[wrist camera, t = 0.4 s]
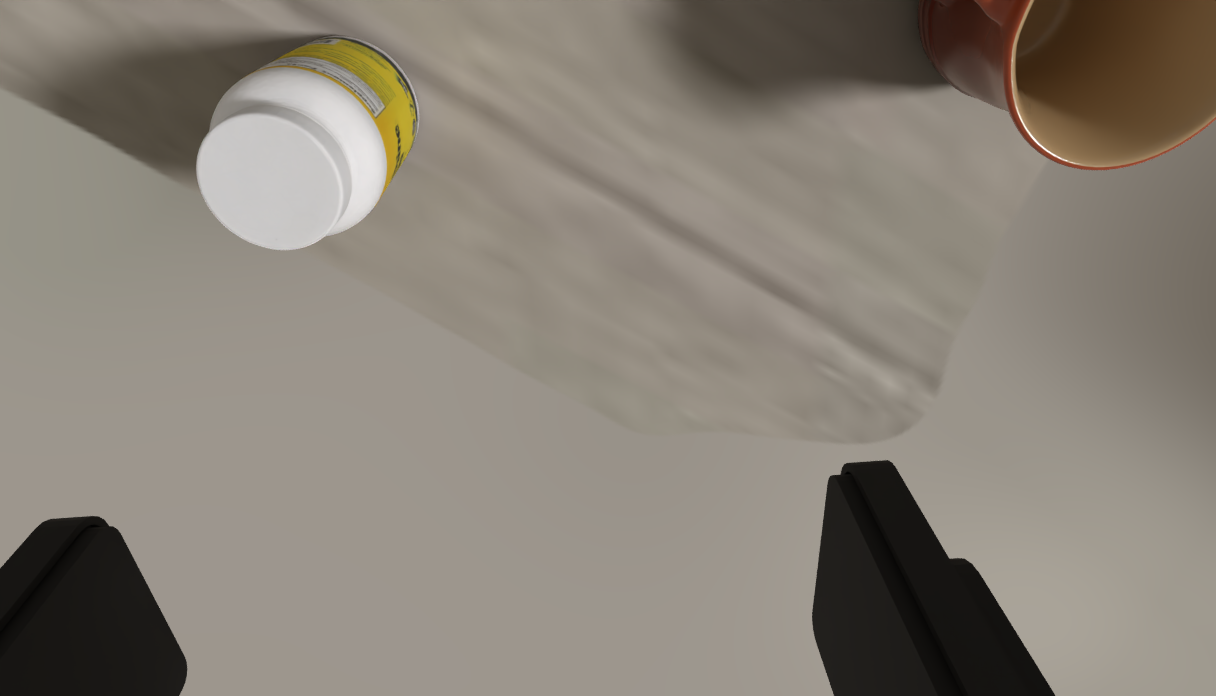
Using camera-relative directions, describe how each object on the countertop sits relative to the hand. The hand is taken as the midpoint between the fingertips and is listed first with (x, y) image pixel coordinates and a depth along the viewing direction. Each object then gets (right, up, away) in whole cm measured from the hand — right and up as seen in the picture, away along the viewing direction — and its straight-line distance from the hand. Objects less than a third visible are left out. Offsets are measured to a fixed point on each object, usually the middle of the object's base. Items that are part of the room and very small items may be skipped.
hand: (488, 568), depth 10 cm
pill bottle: (-10, +14, +24) cm, 30 cm away
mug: (+17, +19, +22) cm, 34 cm away
